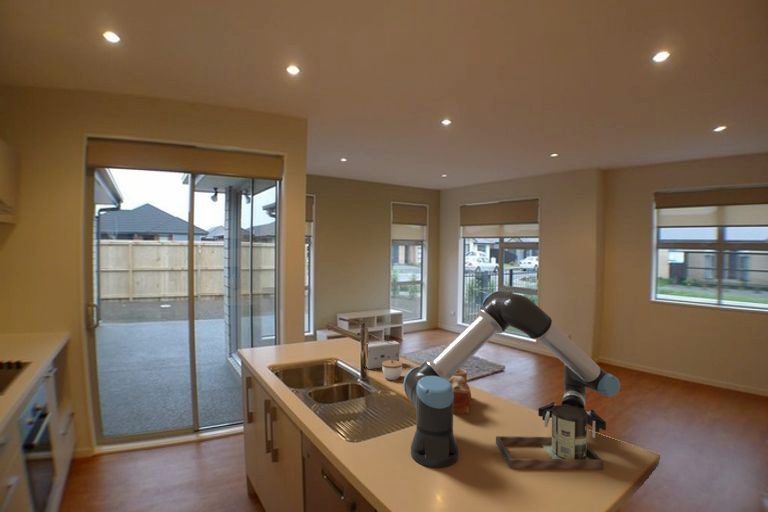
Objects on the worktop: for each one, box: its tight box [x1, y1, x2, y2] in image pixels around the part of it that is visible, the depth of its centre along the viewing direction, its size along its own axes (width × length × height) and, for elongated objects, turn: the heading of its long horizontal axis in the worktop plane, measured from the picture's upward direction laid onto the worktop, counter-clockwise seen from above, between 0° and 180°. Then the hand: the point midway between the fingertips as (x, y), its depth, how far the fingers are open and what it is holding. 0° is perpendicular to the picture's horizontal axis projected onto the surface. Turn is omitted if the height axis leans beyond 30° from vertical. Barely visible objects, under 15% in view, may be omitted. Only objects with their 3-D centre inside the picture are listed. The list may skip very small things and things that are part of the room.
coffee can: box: [551, 404, 588, 459], centre depth 119 cm, size 10×10×14 cm
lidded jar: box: [381, 360, 403, 381], centre depth 192 cm, size 11×11×9 cm
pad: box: [541, 445, 589, 459], centre depth 119 cm, size 12×12×1 cm
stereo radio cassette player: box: [366, 333, 401, 370], centre depth 212 cm, size 21×8×20 cm, turn 115°
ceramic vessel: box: [449, 368, 472, 415], centre depth 158 cm, size 14×26×15 cm, turn 170°
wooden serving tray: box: [495, 435, 604, 470], centre depth 119 cm, size 28×15×2 cm, turn 90°
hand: (569, 428), depth 118 cm, fingers open, 13 cm apart
